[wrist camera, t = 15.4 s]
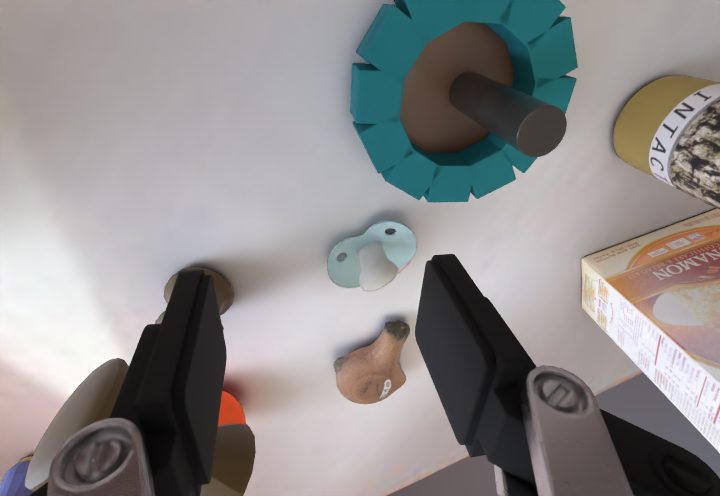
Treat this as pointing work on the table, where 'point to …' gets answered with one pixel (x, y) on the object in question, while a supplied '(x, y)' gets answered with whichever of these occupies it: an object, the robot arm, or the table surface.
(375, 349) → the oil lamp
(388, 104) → the ring
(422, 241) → the table surface
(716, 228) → the coffeecake box
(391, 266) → the pacifier
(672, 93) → the patterned cylinder
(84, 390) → the kendama
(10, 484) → the rubber mallet
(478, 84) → the peg stand
